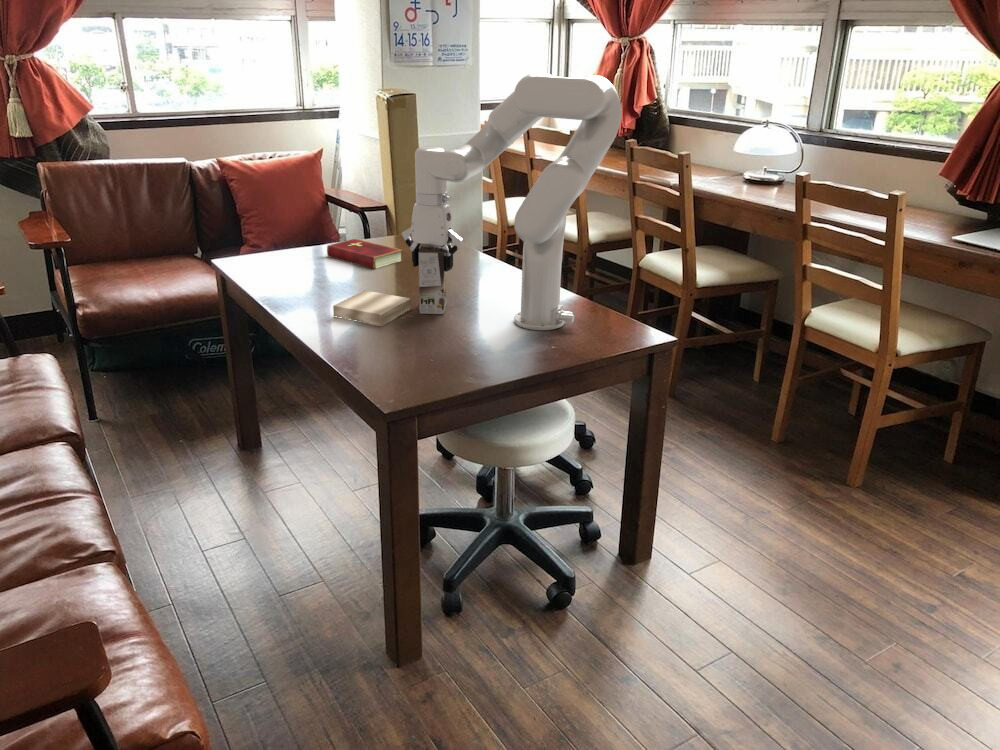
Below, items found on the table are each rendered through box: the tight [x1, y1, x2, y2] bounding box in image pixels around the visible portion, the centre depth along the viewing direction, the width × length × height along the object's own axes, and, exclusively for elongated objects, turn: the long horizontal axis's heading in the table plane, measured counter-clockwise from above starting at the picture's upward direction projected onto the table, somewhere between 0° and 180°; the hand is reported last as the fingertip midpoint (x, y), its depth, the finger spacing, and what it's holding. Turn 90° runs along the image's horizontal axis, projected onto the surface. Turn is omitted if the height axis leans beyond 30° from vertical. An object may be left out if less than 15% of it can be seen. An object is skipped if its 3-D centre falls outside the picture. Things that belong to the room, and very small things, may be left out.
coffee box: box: [418, 244, 447, 315], centre depth 207 cm, size 9×6×16 cm
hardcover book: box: [326, 237, 403, 270], centre depth 251 cm, size 12×21×4 cm, turn 52°
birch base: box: [332, 290, 412, 327], centre depth 206 cm, size 14×14×3 cm
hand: (432, 267), depth 206 cm, fingers closed on coffee box, 8 cm apart
